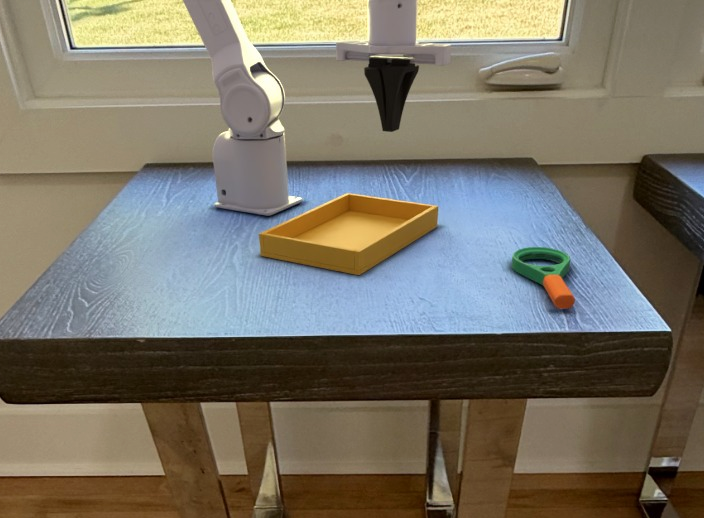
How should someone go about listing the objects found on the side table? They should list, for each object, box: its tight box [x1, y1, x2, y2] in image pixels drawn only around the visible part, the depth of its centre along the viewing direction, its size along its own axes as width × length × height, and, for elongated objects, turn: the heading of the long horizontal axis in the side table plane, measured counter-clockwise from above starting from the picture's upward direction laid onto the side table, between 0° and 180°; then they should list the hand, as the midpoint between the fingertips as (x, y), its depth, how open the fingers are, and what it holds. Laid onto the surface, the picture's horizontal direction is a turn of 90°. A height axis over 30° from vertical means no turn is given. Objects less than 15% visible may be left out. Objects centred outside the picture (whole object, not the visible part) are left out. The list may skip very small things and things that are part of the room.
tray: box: [258, 192, 439, 276], centre depth 84 cm, size 13×19×2 cm
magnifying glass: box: [511, 246, 576, 310], centre depth 72 cm, size 15×6×2 cm, turn 179°
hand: (390, 130), depth 89 cm, fingers closed
